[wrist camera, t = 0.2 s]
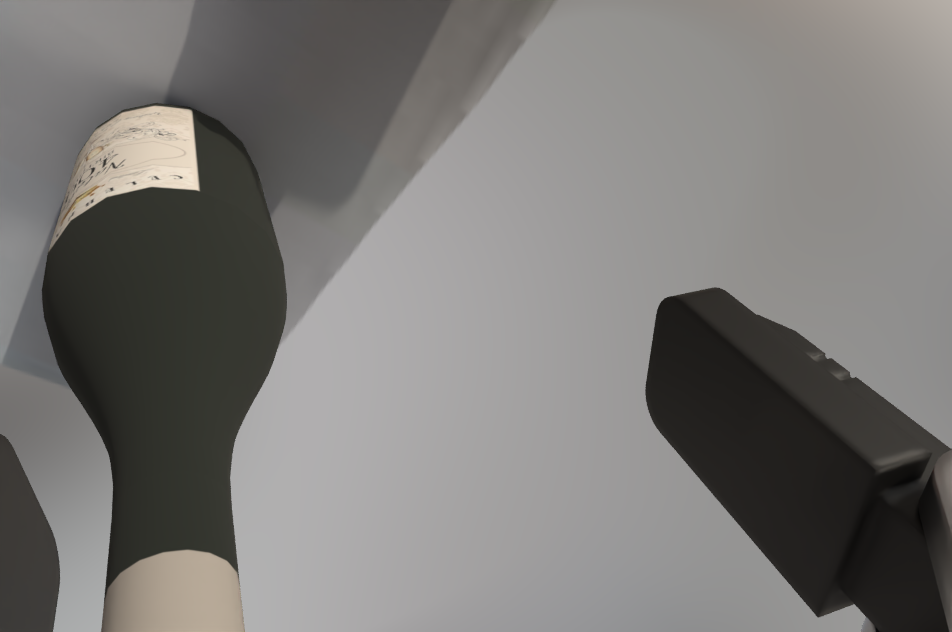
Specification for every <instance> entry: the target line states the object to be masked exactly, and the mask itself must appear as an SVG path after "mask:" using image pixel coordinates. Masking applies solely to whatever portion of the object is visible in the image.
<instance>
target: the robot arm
mask: <svg viewBox="0 0 952 632" xmlns="http://www.w3.org/2000/svg"><path fill="white" fill-rule="evenodd" d="M646 402H647V406H648V410H649V413H650V416H651V418H652V420H653V422H654V424H655V426H656V427H657V429H658V430H659V431H660V433H661V434H662V435H663V436H664V437H665V438H666V440H667V441H668V442H669V443H670V444H671V446H672V447H673V448H674V449H675V450H676V451H677V453H678V454H679V455H680V456H681V457H682V459H683V460H684V461H685V462H686V463H687V464H688V466H689V467H690V468H691V469H692V470H693V471H694V473H695V474H696V475H697V476H698V477H699V478H700V480H701V481H702V482H703V483H704V484H705V486H706V487H707V488H708V489H709V490H710V491H711V493H713V495H714V496H715V497H716V498H717V500H718V501H719V502H720V503H721V504H722V505H723V507H724V508H725V509H726V510H727V511H728V512H729V514H730V515H731V516H732V517H733V518H734V520H735V521H736V522H737V523H738V524H739V525H740V526H741V528H742V529H743V530H744V531H745V532H746V534H747V535H748V536H749V537H750V538H751V539H752V541H753V542H754V543H755V544H756V545H757V546H758V548H759V549H760V550H761V551H762V552H763V553H764V555H765V556H766V557H767V558H768V559H769V561H770V562H771V563H772V564H773V565H774V566H775V568H776V569H777V570H778V571H779V572H780V573H781V575H782V576H783V577H784V578H785V579H786V580H787V582H788V583H789V584H790V585H791V586H792V588H793V589H794V590H795V591H796V592H797V593H798V595H799V596H800V597H801V598H802V599H803V600H804V602H806V604H807V605H808V606H809V607H810V609H811V610H812V611H813V612H814V613H815V614H816V616H817V617H821V616H824V615H826V614H829V613H832V612H834V611H837V610H840V609H842V608H845V607H847V606H850V605H853V604H855V605H856V606H857V607H858V608H859V609H860V610H861V612H862V613H863V614H864V615H865V616H866V618H865V621H864V623H863V625H862V629H861V632H952V449H950V448H949V447H948V446H946V445H945V444H944V443H942V442H941V441H940V440H938V439H937V438H936V437H934V436H933V435H932V434H930V433H929V432H928V431H926V430H925V429H924V428H922V427H921V426H920V425H918V424H917V423H916V422H915V421H913V420H912V419H910V418H909V417H908V416H907V415H905V414H904V413H903V412H901V411H900V410H899V409H897V408H896V407H895V406H894V405H892V404H891V403H889V402H888V401H887V400H886V399H884V398H883V397H881V396H880V395H879V394H878V393H876V392H875V391H874V390H872V389H871V388H870V387H869V386H867V385H866V384H864V383H863V382H862V381H861V380H859V379H858V378H856V377H855V378H851V377H850V372H849V371H847V370H846V369H845V368H843V367H842V366H841V365H839V364H838V363H837V362H836V361H834V360H833V359H826V357H825V353H824V352H822V351H821V350H820V349H818V348H817V347H816V346H814V345H813V344H812V343H811V342H809V341H808V340H807V339H805V338H804V337H803V336H801V335H800V334H799V333H797V332H796V331H794V330H792V329H789V328H787V327H785V326H783V325H780V324H778V323H775V322H773V321H771V320H769V319H766V318H764V317H762V316H760V315H756V314H755V313H753V312H752V311H751V310H749V309H748V308H747V307H746V306H744V305H743V304H742V303H740V302H739V301H738V300H737V299H735V298H734V297H733V296H732V295H730V294H729V293H728V292H726V291H725V290H723V289H720V288H710V289H705V290H700V291H695V292H690V293H685V294H681V295H676V296H671V297H667V298H665V299H664V300H663V301H662V302H661V303H660V305H659V307H658V310H657V314H656V320H655V327H654V334H653V341H652V347H651V354H650V361H649V368H648V374H647V381H646ZM59 584H60V568H59V557H58V551H57V546H56V542H55V538H54V536H53V532H52V530H51V528H50V525H49V523H48V521H47V519H46V517H45V515H44V513H43V510H42V508H41V506H40V504H39V502H38V500H37V498H36V496H35V493H34V491H33V489H32V487H31V485H30V483H29V481H28V478H27V476H26V475H25V472H24V470H23V468H22V466H21V463H20V461H19V459H18V457H17V455H16V453H15V451H14V449H13V447H12V445H11V444H10V442H9V441H8V439H6V437H5V436H3V435H1V434H0V632H53V627H54V620H55V613H56V607H57V599H58V592H59Z"/></svg>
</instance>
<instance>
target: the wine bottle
mask: <svg viewBox="0 0 952 632" xmlns="http://www.w3.org/2000/svg"><path fill="white" fill-rule="evenodd" d="M42 301H43V312H44V319H45V322H46V326H47V329H48V333H49V336H50V340H51V343H52V346H53V350H54V353H55V357H56V360H57V363H58V366H59V368H60V370H61V372H62V374H63V376H64V378H65V380H66V381H67V383H68V384H69V386H70V388H71V389H72V391H73V392H74V394H75V395H76V397H77V398H78V400H79V401H80V402H81V404H82V405H83V407H84V409H85V410H86V412H87V413H88V415H89V417H90V418H91V420H92V421H93V423H94V425H95V427H96V428H97V430H98V432H99V434H100V436H101V437H102V440H103V442H104V444H105V446H106V449H107V451H108V454H109V457H110V462H111V470H112V479H113V502H112V523H111V533H110V544H109V555H108V565H107V577H106V588H105V598H104V609H103V620H102V629H101V632H245V629H244V621H243V611H242V602H241V593H240V583H239V574H238V564H237V555H236V545H235V535H234V525H233V515H232V503H231V486H230V471H231V461H232V453H233V447H234V442H235V439H236V436H237V433H238V430H239V429H240V426H241V424H242V422H243V420H244V418H245V416H246V414H247V412H248V410H249V408H250V406H251V405H252V403H253V401H254V399H255V397H256V396H257V394H258V392H259V390H260V389H261V387H262V385H263V383H264V381H265V379H266V377H267V376H268V374H269V371H270V369H271V366H272V364H273V361H274V358H275V355H276V352H277V348H278V345H279V342H280V339H281V336H282V333H283V329H284V325H285V320H286V309H287V293H286V284H285V275H284V265H283V260H282V257H281V253H280V250H279V246H278V243H277V239H276V236H275V232H274V229H273V225H272V222H271V218H270V215H269V211H268V208H267V204H266V201H265V197H264V193H263V190H262V186H261V183H260V179H259V176H258V173H257V170H256V168H255V166H254V164H253V163H252V161H251V159H250V157H249V155H248V153H247V151H246V149H245V147H244V145H243V143H242V142H241V141H240V140H239V139H238V138H237V137H236V136H235V135H234V134H233V133H232V132H231V131H229V130H228V129H227V128H226V127H225V126H224V125H223V124H222V123H221V122H220V121H218V120H216V119H214V118H212V117H210V116H207V115H205V114H203V113H201V112H199V111H197V110H195V109H192V108H190V107H184V106H176V105H167V104H158V103H155V104H150V105H145V106H140V107H135V108H130V109H126V110H123V111H121V112H120V113H118V114H116V115H115V116H113V117H112V118H110V119H109V120H107V121H106V122H104V123H103V124H101V125H100V126H98V127H97V128H96V129H95V131H94V132H93V134H92V135H91V137H90V138H89V140H88V141H87V142H86V144H85V145H84V147H83V148H82V150H81V151H80V153H79V154H78V157H77V160H76V163H75V166H74V169H73V172H72V176H71V179H70V182H69V186H68V189H67V192H66V195H65V199H64V202H63V205H62V208H61V212H60V215H59V218H58V222H57V225H56V228H55V231H54V235H53V238H52V241H51V244H50V248H49V251H48V255H47V262H46V268H45V275H44V281H43V288H42Z"/></svg>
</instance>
